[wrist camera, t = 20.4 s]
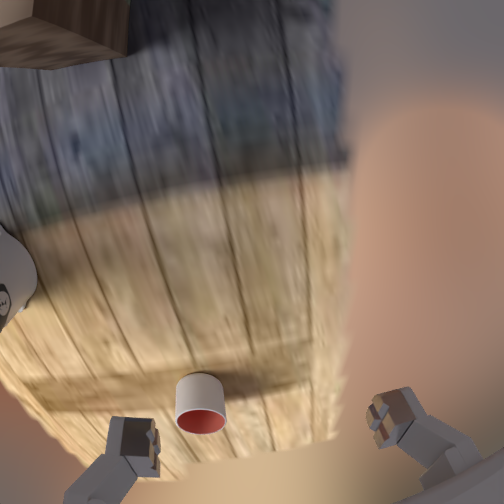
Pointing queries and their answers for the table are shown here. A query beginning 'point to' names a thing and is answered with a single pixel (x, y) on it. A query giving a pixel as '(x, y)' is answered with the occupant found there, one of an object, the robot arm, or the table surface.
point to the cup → (200, 404)
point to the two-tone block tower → (62, 32)
